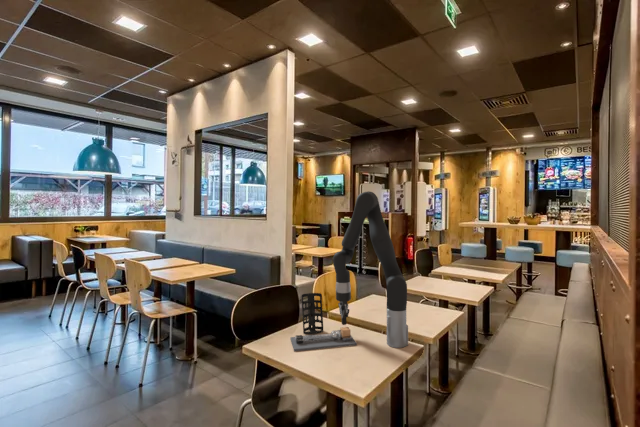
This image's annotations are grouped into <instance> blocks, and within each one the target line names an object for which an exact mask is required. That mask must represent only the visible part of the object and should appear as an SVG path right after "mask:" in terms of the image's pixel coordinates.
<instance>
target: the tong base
mask: <svg viewBox="0 0 640 427" xmlns="http://www.w3.org/2000/svg"><path fill="white" fill-rule="evenodd" d="M330 334H333V335H332V337H329V338H312V339H303V340H297V339H296V343H297V344H301V343H306V342H317V341H327V340H340V338H341V340H342V341H343V342H345V341H353V339H354V337H353V336H352V335H351V334H350V336H345V337H343V336H342V335H341V334H340V329H337V330H331V331H330Z"/></svg>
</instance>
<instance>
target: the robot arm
mask: <svg viewBox="0 0 640 427" xmlns="http://www.w3.org/2000/svg"><path fill="white" fill-rule="evenodd" d="M381 210H382V209H381V207H380V202H379V197H378V196H377V195H376V194H375V192H373V191H364V192H361V193H359V194H358V195H357V197H356V199H355V205H354V209H353V213H352V216H351V219H350V222H349V224H348V227H347V228H346V231H345V233H344V236H343V238H342V240H341V246H342V249H341V250H340V251H337V252H336V253H334V255H333V258H332V263H333V269H334V271H335V299H336V301H337V302H338V304H337V305H338V309H339V314H340V317H341V325H342V326H346V325H347V323H348V322H347V318H349V313H350V309H349V303H348V302H350V301H351V299H352V293H351V292H352V290H351V275H350V274H351V272H350V270H348V269H347V265H348V264H350V262H351V261H352V259H353V256H354V253H355V247H356V246H357V244H358V241H359V239H360V237H361V233H362V229H363V224H364V223H365V221H366V218H367V221H368V226H369V227H368V228H369V237H370V241H371V245H372V247H373V250H374V253H375V255H376V256H377V259H378V261H379V263H380V265H381V267H382V270H383V273H384V277H385V282H386V344H387V345H388V346H389V347H391V348H397V349H399V348H405V347H407V346H409V325H408V324H407V305H408V284H407V281H406V279H405V277H404V276H403V273H402V271H401V269H400V267H399V265H398V262H397V255H396V252H395V248H394V244H393V241H392V238H391V235H390V233H389V230H388V226H387V225H386V223H385V220H384V217H383V215H382V211H381Z"/></svg>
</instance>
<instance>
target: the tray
mask: <svg viewBox="0 0 640 427" xmlns="http://www.w3.org/2000/svg"><path fill="white" fill-rule="evenodd" d="M290 342H291V345H292V348H293V352H301V351H303V352H304V351H313V350H322V349H332V348H343V347H351V346H353V347H354V346H357V345H358V344H357V342H356V340H355V339H354V338H353V341H345V342H343V341H342V340H341V338H340V340H327V341H317V342H306V343H301V344H297V343H296V340H295V336H291V337H290Z"/></svg>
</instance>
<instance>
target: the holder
mask: <svg viewBox="0 0 640 427" xmlns="http://www.w3.org/2000/svg"><path fill="white" fill-rule="evenodd" d="M306 297H307V300H304V298H306ZM315 297H319V299H315ZM319 305H320V306H319ZM316 310H319V311H320V313H318V312H317V313H316ZM305 311H307V314H306V313H305ZM301 313H302V330H303V334H304V335H317V334H321V333H323V332H324V316H323V296H322V293H319V292H312V293H311V292H309V293H303V294H301ZM319 317H320V318H319ZM316 323H320V325H321V326H318V325H317V326H316ZM306 324H308V326H307V327H306V326H305V325H306Z"/></svg>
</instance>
